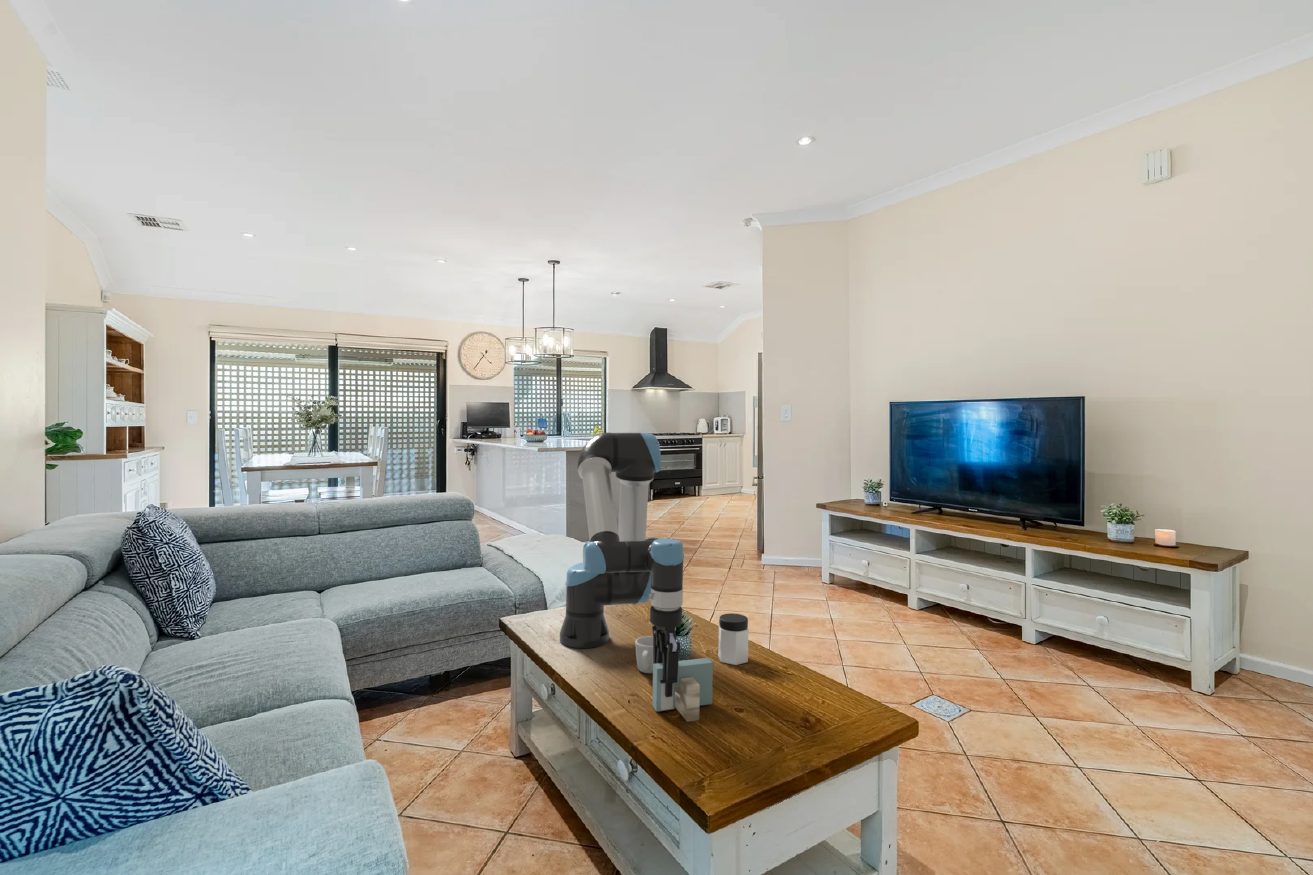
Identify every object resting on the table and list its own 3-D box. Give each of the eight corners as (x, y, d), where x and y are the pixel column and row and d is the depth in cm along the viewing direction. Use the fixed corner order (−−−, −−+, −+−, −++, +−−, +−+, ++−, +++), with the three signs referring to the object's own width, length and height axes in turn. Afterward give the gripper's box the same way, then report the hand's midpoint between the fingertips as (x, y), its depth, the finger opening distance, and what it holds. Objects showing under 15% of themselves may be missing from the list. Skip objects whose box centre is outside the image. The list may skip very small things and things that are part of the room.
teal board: (652, 705, 142) (653, 663, 141) (707, 698, 146) (708, 657, 146) (656, 711, 139) (657, 668, 139) (711, 703, 143) (712, 662, 143)
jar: (716, 653, 176) (717, 612, 176) (744, 653, 176) (744, 612, 176) (720, 665, 167) (721, 622, 167) (749, 665, 167) (750, 622, 167)
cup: (658, 682, 156) (659, 651, 156) (629, 678, 157) (629, 648, 157) (666, 665, 166) (666, 637, 166) (638, 662, 168) (639, 634, 168)
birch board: (666, 694, 149) (667, 662, 148) (678, 692, 150) (678, 661, 149) (686, 721, 135) (687, 686, 135) (699, 719, 136) (699, 685, 136)
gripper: (641, 597, 147) (639, 691, 148) (661, 618, 132) (659, 723, 132) (670, 595, 149) (668, 688, 150) (693, 615, 134) (691, 719, 135)
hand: (664, 704), depth 141 cm, fingers closed on teal board, 3 cm apart
